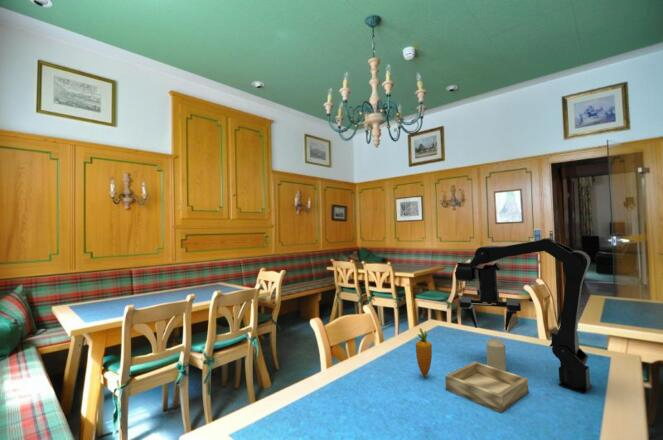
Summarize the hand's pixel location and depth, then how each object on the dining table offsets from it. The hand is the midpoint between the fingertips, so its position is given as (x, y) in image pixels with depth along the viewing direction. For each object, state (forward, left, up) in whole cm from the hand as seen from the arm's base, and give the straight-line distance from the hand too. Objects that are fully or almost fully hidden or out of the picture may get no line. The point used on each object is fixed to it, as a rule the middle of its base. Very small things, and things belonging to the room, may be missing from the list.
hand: (491, 329), depth 113 cm
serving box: (-8, +18, -12) cm, 23 cm away
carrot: (+9, +24, -13) cm, 29 cm away
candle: (-3, +2, -13) cm, 13 cm away
